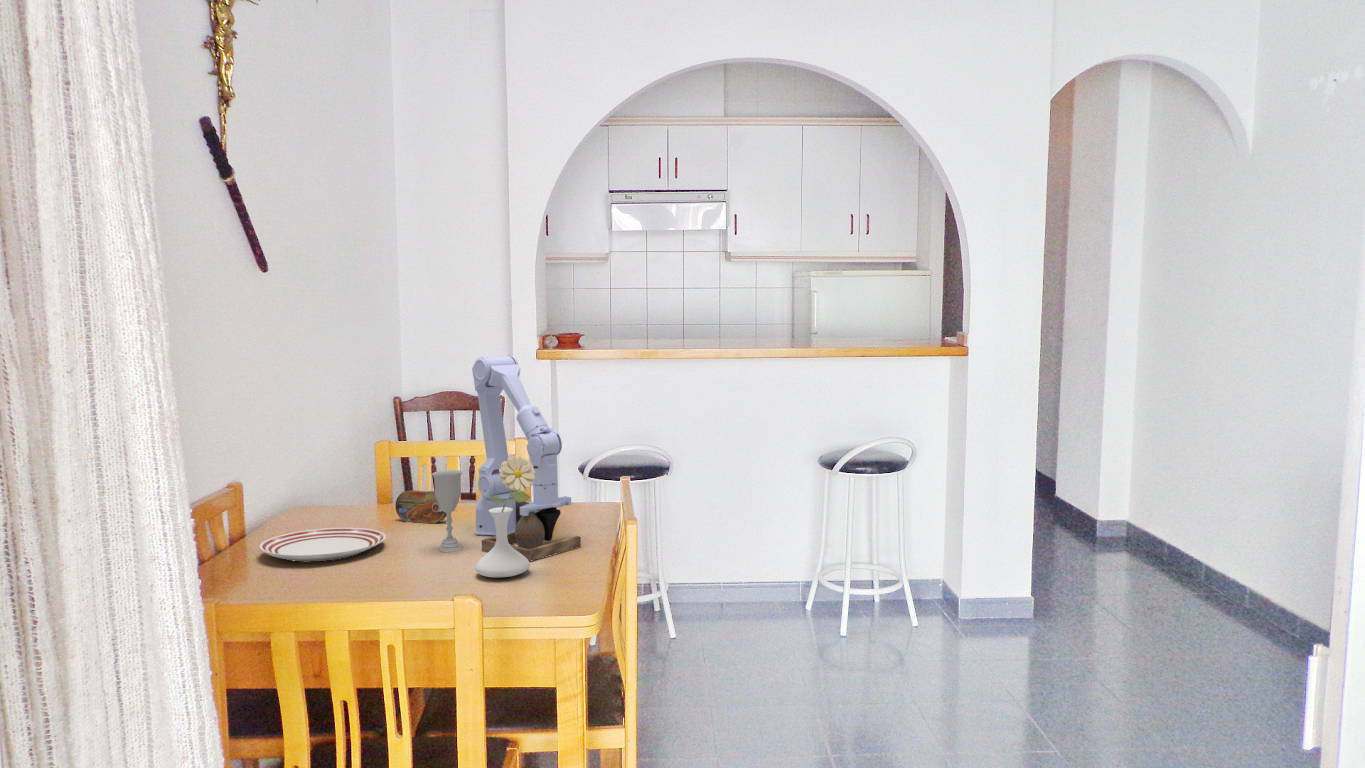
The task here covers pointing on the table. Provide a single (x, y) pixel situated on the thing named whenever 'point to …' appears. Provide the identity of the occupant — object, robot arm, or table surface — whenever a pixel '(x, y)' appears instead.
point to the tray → (537, 551)
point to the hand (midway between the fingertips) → (547, 540)
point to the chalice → (448, 502)
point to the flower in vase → (502, 555)
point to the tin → (419, 507)
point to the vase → (529, 531)
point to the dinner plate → (322, 543)
